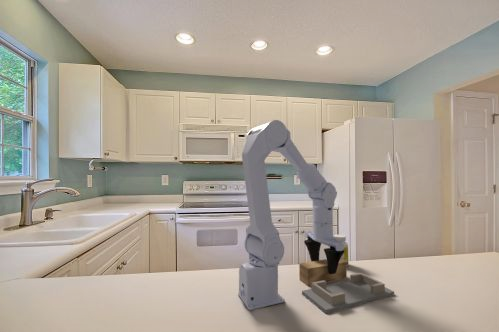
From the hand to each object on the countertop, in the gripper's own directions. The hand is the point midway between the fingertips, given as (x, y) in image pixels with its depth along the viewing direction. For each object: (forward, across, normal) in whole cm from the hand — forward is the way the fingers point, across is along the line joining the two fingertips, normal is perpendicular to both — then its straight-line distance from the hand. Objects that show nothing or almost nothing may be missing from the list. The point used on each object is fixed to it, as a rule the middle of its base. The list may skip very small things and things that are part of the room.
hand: (323, 268), depth 68 cm
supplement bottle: (+3, +7, -13) cm, 15 cm away
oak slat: (+3, 0, 0) cm, 3 cm away
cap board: (+3, -10, 0) cm, 10 cm away
